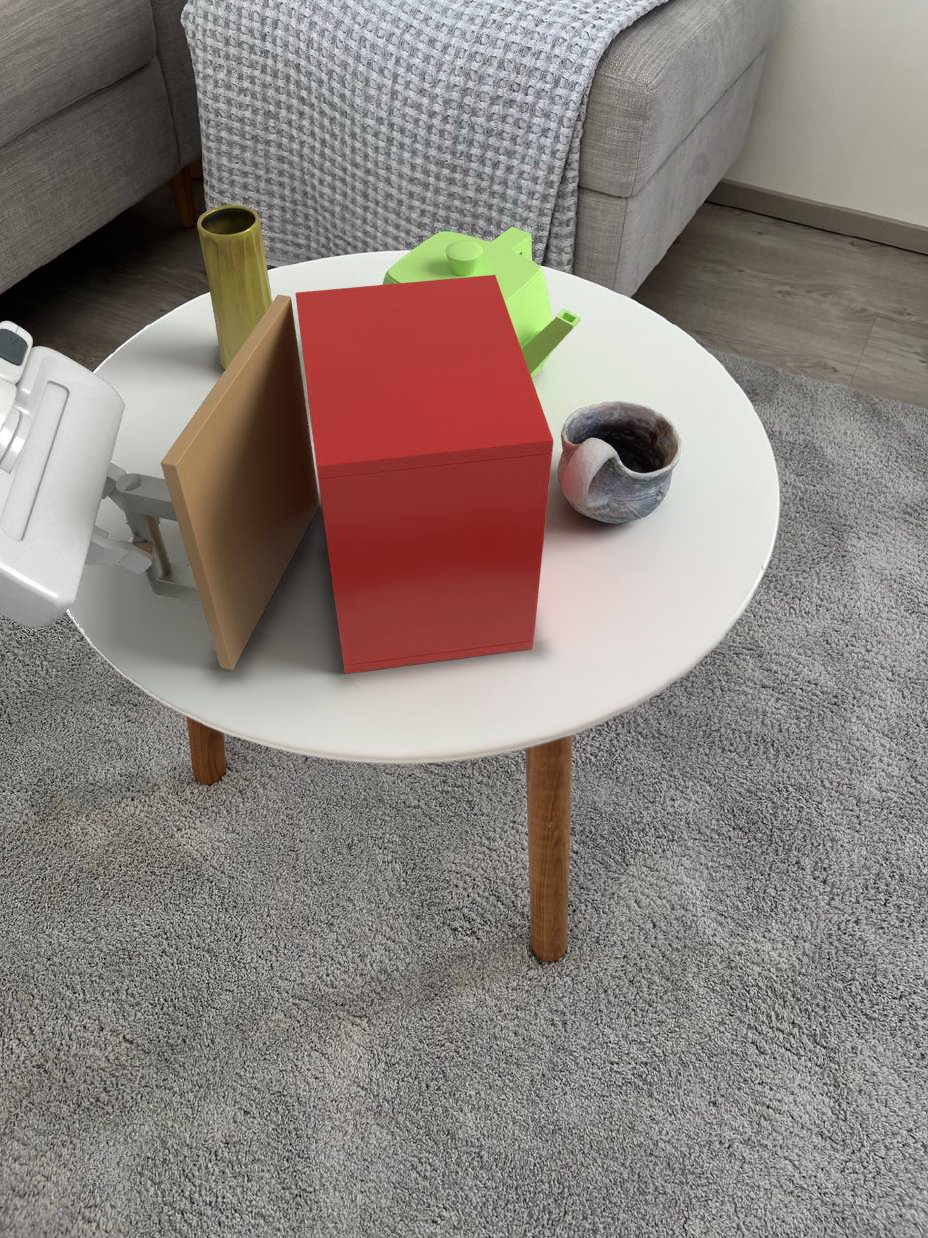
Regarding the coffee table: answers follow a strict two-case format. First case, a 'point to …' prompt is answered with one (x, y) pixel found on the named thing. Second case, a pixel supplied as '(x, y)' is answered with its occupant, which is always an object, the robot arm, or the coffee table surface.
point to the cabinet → (426, 469)
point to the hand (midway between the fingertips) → (153, 540)
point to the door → (234, 487)
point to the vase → (234, 274)
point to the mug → (617, 460)
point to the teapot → (515, 278)
